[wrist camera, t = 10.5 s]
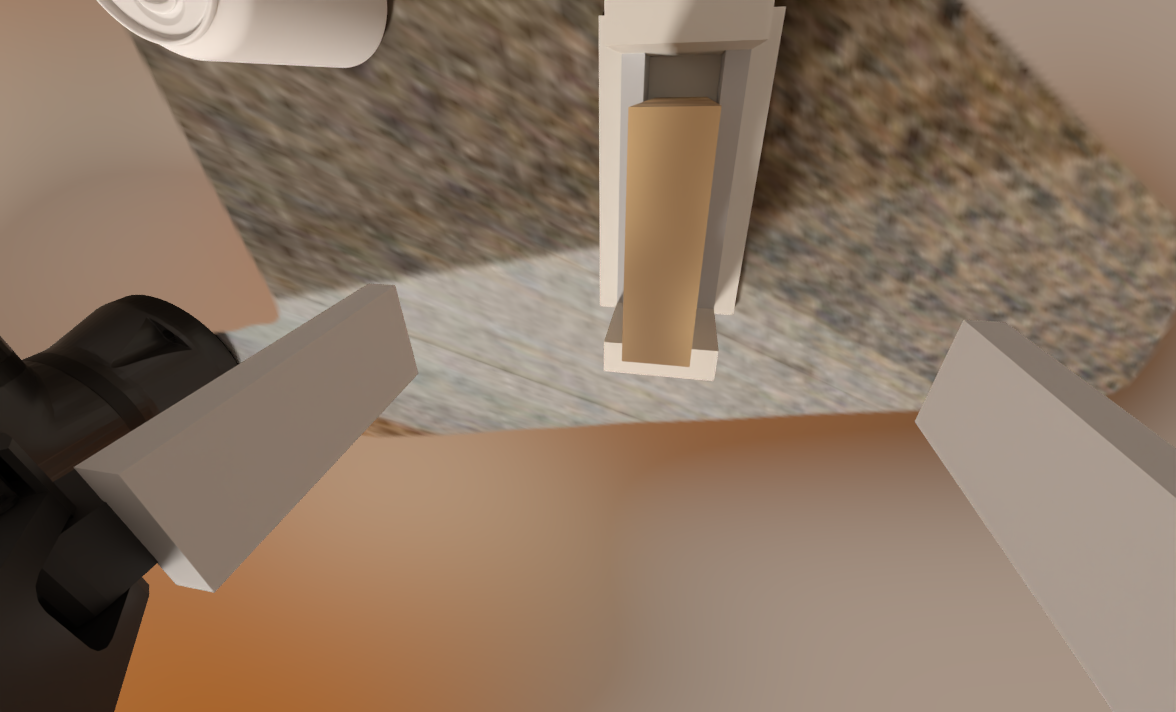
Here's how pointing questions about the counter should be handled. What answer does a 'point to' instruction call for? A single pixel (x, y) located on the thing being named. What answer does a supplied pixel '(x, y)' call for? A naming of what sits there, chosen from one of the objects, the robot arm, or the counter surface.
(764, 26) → the door track
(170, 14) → the beverage can
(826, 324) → the counter surface
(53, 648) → the robot arm
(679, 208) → the door panel
